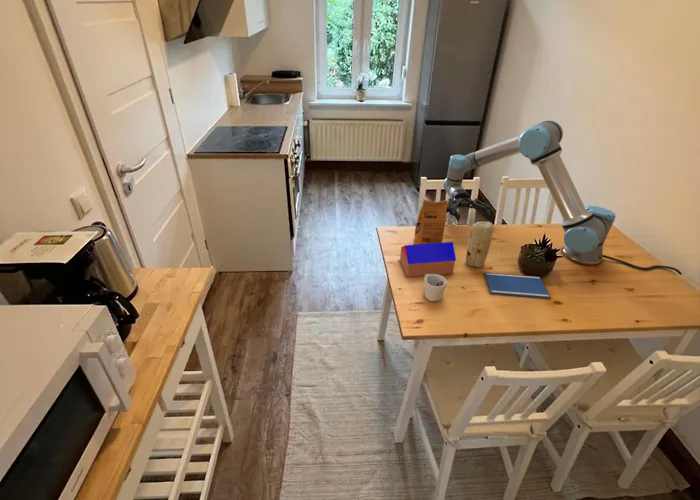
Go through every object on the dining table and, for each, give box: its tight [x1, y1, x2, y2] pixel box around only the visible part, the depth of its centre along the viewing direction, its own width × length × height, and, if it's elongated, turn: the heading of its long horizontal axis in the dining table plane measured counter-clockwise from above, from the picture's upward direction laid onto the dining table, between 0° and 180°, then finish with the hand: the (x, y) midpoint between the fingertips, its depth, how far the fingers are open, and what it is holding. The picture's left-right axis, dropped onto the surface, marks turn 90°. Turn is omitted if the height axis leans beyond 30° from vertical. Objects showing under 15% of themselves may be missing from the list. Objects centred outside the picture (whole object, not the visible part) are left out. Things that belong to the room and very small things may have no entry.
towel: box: [484, 272, 551, 300], centre depth 152 cm, size 22×13×1 cm, turn 84°
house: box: [399, 241, 457, 278], centre depth 158 cm, size 12×20×12 cm, turn 99°
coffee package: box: [414, 199, 448, 245], centre depth 171 cm, size 10×12×22 cm
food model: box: [465, 221, 495, 268], centre depth 158 cm, size 10×7×20 cm
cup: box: [423, 274, 448, 302], centre depth 144 cm, size 11×8×8 cm
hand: (474, 218), depth 163 cm, fingers open, 13 cm apart
